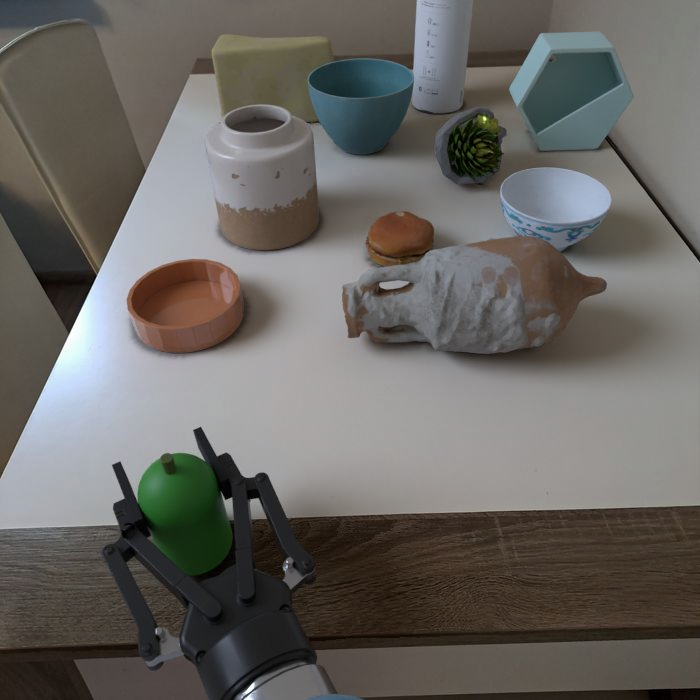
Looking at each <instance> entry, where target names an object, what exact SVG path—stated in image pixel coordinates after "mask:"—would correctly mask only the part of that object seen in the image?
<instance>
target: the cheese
mask: <svg viewBox="0 0 700 700" xmlns="http://www.w3.org/2000/svg"><path fill="white" fill-rule="evenodd" d="M211 59H212V65H213V70H214V76H215V82H216V88H217V94H218V101H219V105H220V113H221V117H222V118H221V119H223V117H224V116H225V115H226V114H227V113H229V112H231V111H232V110H235V109H237V108H240V107H244V106H249V105H259V104H265V105H275V106H279V107H282V108H284V109H286V110H288V111H289V112H290V113H291V115H293V116H296V117H298V118H300V119H302V120H304V121H305V122H306V123H314V122H315V123H317V122H319V120H318V118H317V115H316V113H315V110H314V108H313V105H312V101H311V98H310V93H309V88H308V76H309V74H310V73H311V72H312V71H313V70H315V69H316V68H318V67H320V66H322V65H325V64H328V63H331V62H335V57H334V51H333V44H332V41H331V39H330V38H328V37H327V36H317V35H316V36H315V35H314V36H297V37H296V36H295V37H294V36H292V37H290V36H289V37H288V36H287V37H259V36H250V35H241V34H227V33H226V34H224V33H223V34H221V35H220V36H219V37H218V39H217V40H216V42H215V44H214V45H213V47H212V49H211Z"/></svg>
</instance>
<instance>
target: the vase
mask: <svg viewBox="0 0 700 700" xmlns="http://www.w3.org/2000/svg"><path fill="white" fill-rule="evenodd" d="M314 138H315V137H314V132H313V129H312V127H311V125H310V124H309V123H308V122H305V121H304V120H302V119H300V118H298V117H296V116H293V115H291V113H290V112H289V111H288V110H286V109H284V108H282V107H279V106H275V105H265V104H259V105H249V106H244V107H240V108H237V109H235V110H232V111H231V112H229V113H227V114H226V115H225V116H224V117H223V118H221V121H220V122H218V123H216V124H214V126H212V127H211V128H210V130H209V131H207V133H206V135H205V138H204V148H205V155H206V159H207V165H208V171H209V175H210V181H211V185H212V191H213V196H214V201H215V207H216V212H217V217H218V222H219V226H220V229H221V232H222V234H223V236H224V237H225V238H226V240H228V241H229V242H231V244H234V245H236V246H238V247H241V248H244V249H249V250H255V251H274V250H281V249H285V248H289V247H291V246H292V247H293V246H294V245H297V244H299V243H301V242H303V241H305V240H307V239H308V238H309V237H310V236H312V234H314V232H315V231H316V229H317V228H318V225H319V223H320V211H319V210H320V209H319V195H318V180H317V166H316V151H315V149H316V148H315V140H314Z"/></svg>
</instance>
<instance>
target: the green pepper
mask: <svg viewBox="0 0 700 700" xmlns="http://www.w3.org/2000/svg"><path fill="white" fill-rule="evenodd" d="M136 493H137V494H136V495H137V497H136V498H137V502H138V505H139V508H140V511H141V513H142V515H143V517H144V520H145V522H146V524H147V527H148V529H149V531H150V534H151V538H152V540H153V542H154V545H155V546H156V547H157V548H158V549H159V550H160V551H162V552H163V553H164V554H165V555H166V556H167V557H168V558H169V559H170V560H171V561H172V562H173V563H174V564H175V565H177V566H178V567H179V568H180V569H181V570H182V571H183V572H184V573H185V574H186V575H189V576H190V577H192V576H199V575H203V574H205V573H209V572H210V571H212V570H214V569H216V567H218V566H219V565H220V564H221V563H222V562H223V561H224V560H225V559H226V557H227V556H228V554H229V553H230V551H231V548H232V544H233V535H234V534H233V530H232V525H231V523H230V519H229V515H228V512H227V508H226V505H225V501H224V497H223V495H222V493H221V490H220V487H219V483H218V480H217V477H216V475H215V473H214V471H213V469H212V468H211V467H210V466H209V465H208V464H207V463H206V462H205V460H204V458H201V457H199V456H197V455H195V454H191V453H186V452H173V453H170V452H166V453H163V454H162V455H161V456H160V458H157V459H156V460H155V461H153V462H152V463H151V464H150V465H149V466H148V467H147V469H145V470H144V472H143V474H142V476H141V478H140V479H139V483H138V486H137V492H136Z"/></svg>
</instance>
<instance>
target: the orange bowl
mask: <svg viewBox="0 0 700 700" xmlns="http://www.w3.org/2000/svg"><path fill="white" fill-rule="evenodd" d="M126 307H127V311H128V315H129V317H130V321H131V323H132V326H133V329H134V331H135V333H136V335H137V336H138V338H139V340H140V341H142V342H143V343H144V345H146V346H148V347H150V348H152V349H154V350H156V351H161V352H163V353H171V354H185V353H194V352H198V351H203V350H206V349H209V348H211V347H213V346H216V345H218V344H220V343H222V342H223V341H225V340H227V338H229V337H230V336H232V335H233V334H234V333H235V332H236V331H237V329H238V328H239V327H240V325H241V324H242V321H243V319H244V318H245V312H246V311H245V310H246V309H245V300H244V295H243V289H242V284H241V281H240V278H239V276H238V274H237V273H236V272H235V271H234V270H233V269H232V268H231V267H229V266H227V265H225V264H223V263H221V262H220V261H215V260H211V259H205V258H189V259H179V260H174V261H171V262H168V263H164V264H161V265H159V266H157V267H155V268H153V269H151V270H149V271H147V272H146V273H144V274H143V275H142V276H141V277H140V278H138V279H136V281H135V282H134V284H133V285H132V286H131V287H130V288H129V291H128V294H127V297H126Z"/></svg>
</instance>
